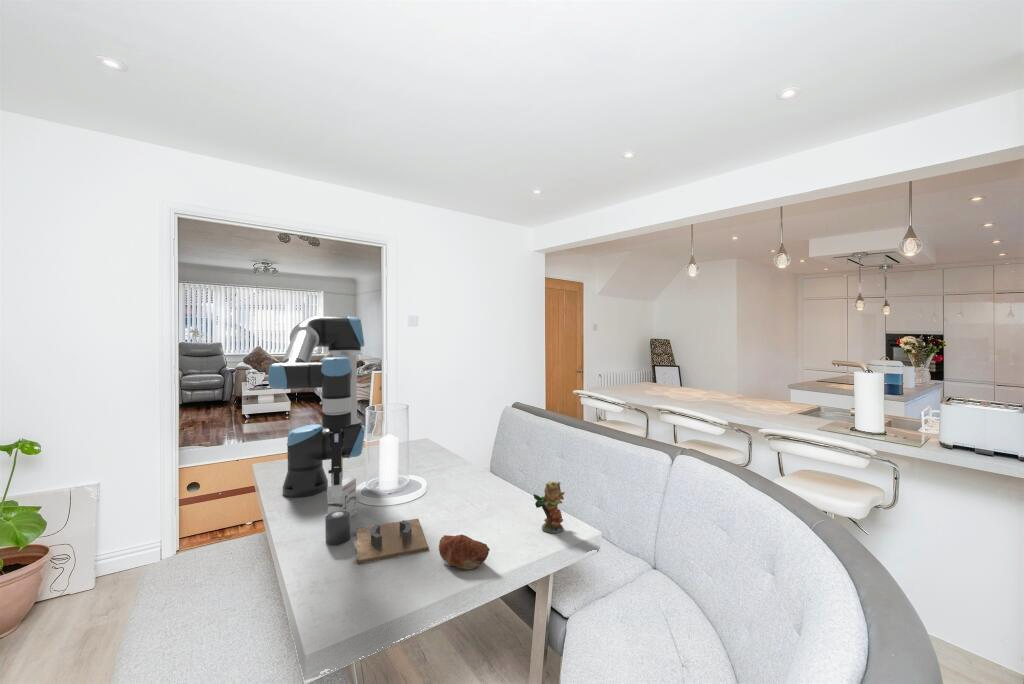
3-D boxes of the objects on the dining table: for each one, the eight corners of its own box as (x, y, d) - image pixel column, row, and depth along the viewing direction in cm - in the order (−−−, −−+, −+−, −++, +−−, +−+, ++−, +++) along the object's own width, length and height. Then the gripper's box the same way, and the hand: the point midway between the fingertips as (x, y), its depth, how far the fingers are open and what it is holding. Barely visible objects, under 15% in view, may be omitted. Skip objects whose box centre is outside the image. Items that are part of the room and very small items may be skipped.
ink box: (341, 525, 126) (340, 487, 126) (326, 523, 127) (326, 485, 127) (357, 513, 134) (356, 477, 134) (343, 511, 135) (343, 476, 135)
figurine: (566, 525, 126) (567, 477, 126) (561, 537, 119) (561, 486, 119) (538, 521, 129) (538, 473, 129) (531, 532, 122) (531, 482, 122)
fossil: (429, 545, 108) (452, 514, 108) (450, 548, 114) (471, 517, 114) (454, 584, 99) (478, 549, 99) (475, 585, 105) (498, 552, 105)
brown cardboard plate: (356, 531, 122) (356, 520, 122) (418, 521, 129) (418, 510, 129) (357, 564, 105) (357, 550, 105) (428, 550, 112) (428, 537, 112)
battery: (326, 536, 119) (325, 511, 119) (349, 532, 122) (349, 507, 121) (325, 547, 113) (324, 521, 113) (350, 543, 116) (349, 517, 115)
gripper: (324, 405, 126) (325, 474, 127) (319, 422, 103) (320, 506, 104) (350, 404, 129) (351, 471, 130) (351, 420, 106) (352, 501, 106)
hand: (337, 487), depth 117 cm, fingers open, 13 cm apart
